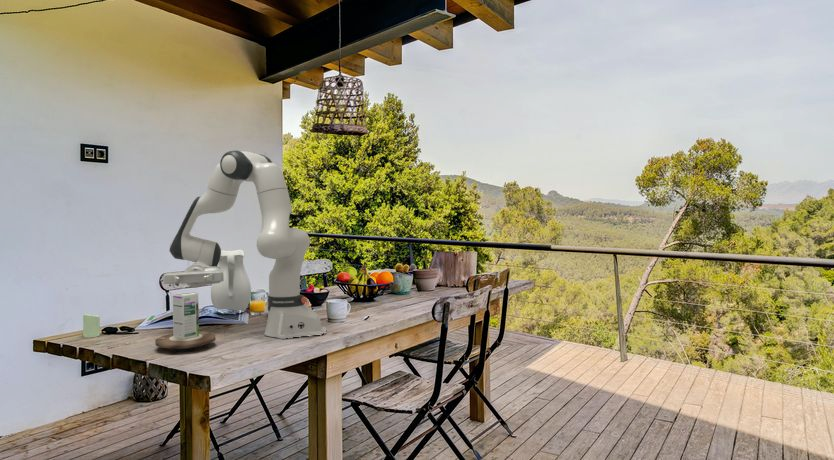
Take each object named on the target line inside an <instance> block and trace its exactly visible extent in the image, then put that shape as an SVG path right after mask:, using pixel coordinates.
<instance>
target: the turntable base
mask: <svg viewBox="0 0 834 460" xmlns="http://www.w3.org/2000/svg"><path fill="white" fill-rule="evenodd" d="M203 346H204V345H201V346H196V347H188V348H168V350H170V351H173V352H188V351H189V352H190V351H194V350H199V349H201V348H202V347H203Z"/></svg>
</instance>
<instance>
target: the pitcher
mask: <svg viewBox="0 0 834 460" xmlns="http://www.w3.org/2000/svg"><path fill="white" fill-rule="evenodd" d="M244 257H245V252H244V251H243V250H242V249H235V250H224V249H221V256H220V260H219V263H218V265H217V266H220V267H221V269H222V270H223V274H224V281H222V282H220V283H215V284H211V288H210V300H211V303H212V306H213V308H214V309H215V308H217V309H233V310H242V311H245V312H246V310H247V308H248V306H249V304H250V301H251V297H252V287H251V282H250V278H249V276H248V274H247V271H246V269H245V265H244Z"/></svg>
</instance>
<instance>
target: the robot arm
mask: <svg viewBox="0 0 834 460" xmlns="http://www.w3.org/2000/svg"><path fill="white" fill-rule="evenodd" d="M243 182H251V183H252V182H253V184H254V186H255V190H256V194H257V195H256V196H257V199H258V205H259V209H260V213H261V230H260V234H259V235H258V237H257V239H256V248H257V252H258V253H259V255H261V256H263V257H264V258H268V259H271V260H272V259H273V260H275V262H274V266H273V267H272V270H270V272H269V274H268V296H267V304H266V305H267V307H266V308H267V311H268V313H267V320H266V326H265V329H264V336H267V337H270V338H271V337H272V338H278V339H280V340H281V339H282V340H285V339H286V338H288V339H294V338H293V337H299V338H302V337H301V336H308V335H316V334H322V333H324V332H326V330H327V327H326V326H324V325H322V321H321V318H320V316H319V314H318V312H316V311H314V309H312V308H311V307H309V306H308V305H306V303H307V297H306V296H305V295H302V294H300V292H301V286H300V285H301V283H300V282H301V271H302V267H303V262H304V259H305V255H306V253H307V250H308V249H309V248H310V244H311V239H310V236H309V235H308V233H307V232H306V231H304V230H302V229H300V228H297V227H290V215H291V213H292V211H293V207H292V203H291V198H290V194H289V190H288V186H287V183H286V179H285V177H284V173H283V171H282V169H281V168H280V166H279V165H278V164H276V163H274V162H273V161H272V160H271V159H270V158H269V157H267V156H266V155H263V154H259V153H255V152H251V151H246V150H231V151H227V152H225V153H224V154H222V156H221V159H220V163H219V162H218V163H217V164H216V166H215V168H214V169H213V172H212V174H211V177H210V179H209V183H208V186H207V187H206V190H205V192H203V194H202V195H201V196H197V197H196V198H195V199H194V200H193V201H192V203H191V205H190V207H189V209H188V210H187V212H186V214H185V216H184V218H183V220H182V222H181V224H180V227H179V229H178V231H177V232H176V234H175V235H174V237H173V238H172V240H171V242H170V245H169V250H168V251H169V253H170V254H171V256H172V257H173V258H174V259H176V260H183V261H189V262H192V264H191V265H189V266H187V267H186V268H185V270H184V271H177V272H175V271H174V272H167V273H164V274H163V284H164V285H176V284H177V285H178V284H186V285H187V286H188V287H191V288H195V289H196V288H200V287H201V288H202V287H204V286H207V285H212V284H215V283H220V282H222V281H224V274H223V270H222V269H221V267H220V266H218V265H219V260H220V256H221V250H222V248H221V246H220V244H219V243H218V242H217V241H214V240H209V239H205V238H200V237H196V236H193V235H191V234H190V233H191V231H192V229H193V227H194V225H195V223H196V221H197V219H198V217H200V216H202V215H207V214H219V213H224V212H227V211H228V210H230V209H231V208H232V207H234V204H235V203H236V200H237V197H238V193H239V190H240V186H241V184H242V183H243Z"/></svg>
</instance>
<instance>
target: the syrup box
mask: <svg viewBox="0 0 834 460" xmlns="http://www.w3.org/2000/svg"><path fill="white" fill-rule="evenodd" d="M199 310H200V309H199V292H194V291H187V292H180V293H174V294H172V322H173V323H172V326H173V327H172V329H173V331H172V332H173V333H172V334H173V337H175V338H178V339H183V340H184V339H187V338H192V337H197V336H199V331H200V327H199V325H200V321H199V319H200V318H199V314H200V313H199V312H200V311H199Z"/></svg>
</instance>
